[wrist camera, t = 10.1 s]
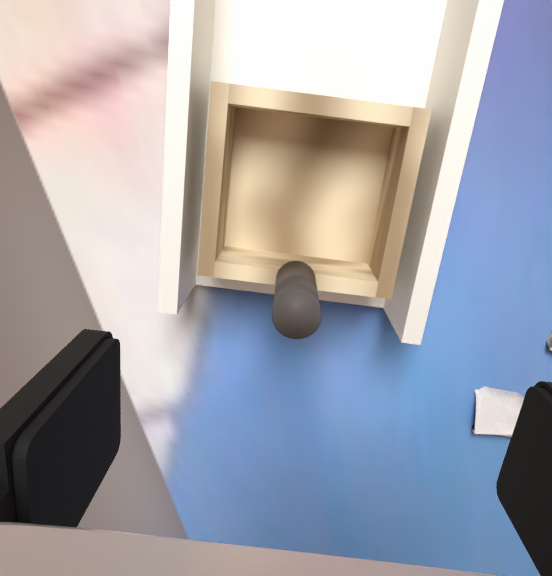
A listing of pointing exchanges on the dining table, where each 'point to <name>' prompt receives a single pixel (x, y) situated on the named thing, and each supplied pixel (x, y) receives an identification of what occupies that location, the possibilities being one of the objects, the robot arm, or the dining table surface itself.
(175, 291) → the bay
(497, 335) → the dining table surface
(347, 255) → the box
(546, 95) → the dining table surface
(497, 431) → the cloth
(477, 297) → the dining table surface
